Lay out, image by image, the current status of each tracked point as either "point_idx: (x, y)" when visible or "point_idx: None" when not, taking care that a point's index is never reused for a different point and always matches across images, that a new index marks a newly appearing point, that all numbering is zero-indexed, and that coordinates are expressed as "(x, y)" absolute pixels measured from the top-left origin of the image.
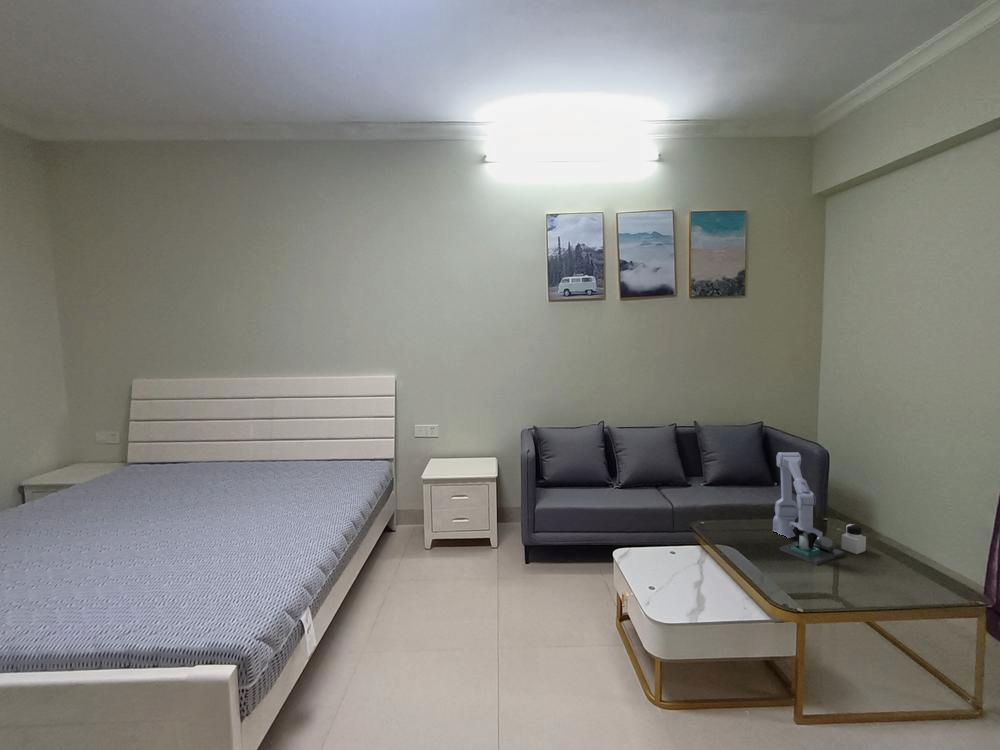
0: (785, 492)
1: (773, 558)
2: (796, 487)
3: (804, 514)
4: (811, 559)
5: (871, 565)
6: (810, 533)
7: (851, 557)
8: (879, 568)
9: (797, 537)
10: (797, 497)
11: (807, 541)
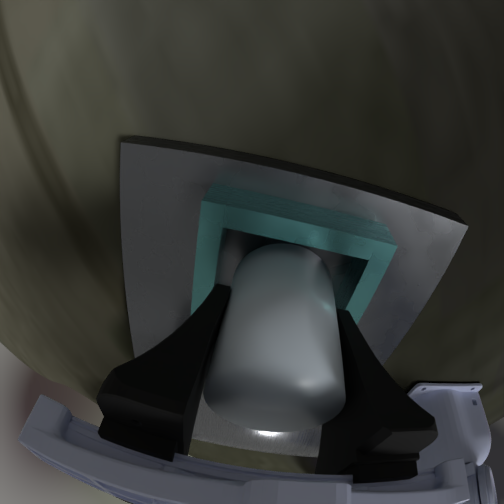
0: None
1: (445, 15)
2: None
3: None
4: (171, 157)
5: (43, 328)
6: (170, 445)
7: (115, 359)
8: (22, 318)
9: (362, 360)
10: None
11: (226, 334)
